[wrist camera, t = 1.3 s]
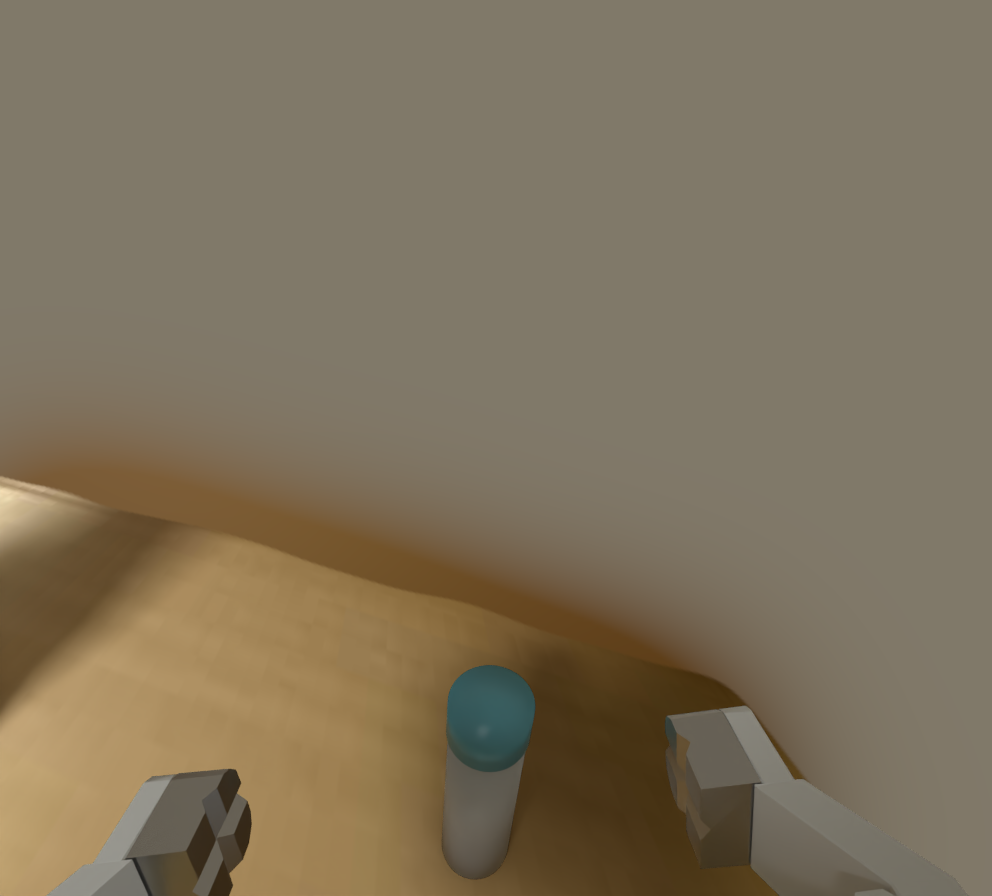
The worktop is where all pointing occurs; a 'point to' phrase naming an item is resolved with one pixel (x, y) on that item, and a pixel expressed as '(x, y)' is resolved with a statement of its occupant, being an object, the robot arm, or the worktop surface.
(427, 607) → the worktop surface
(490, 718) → the water bottle
